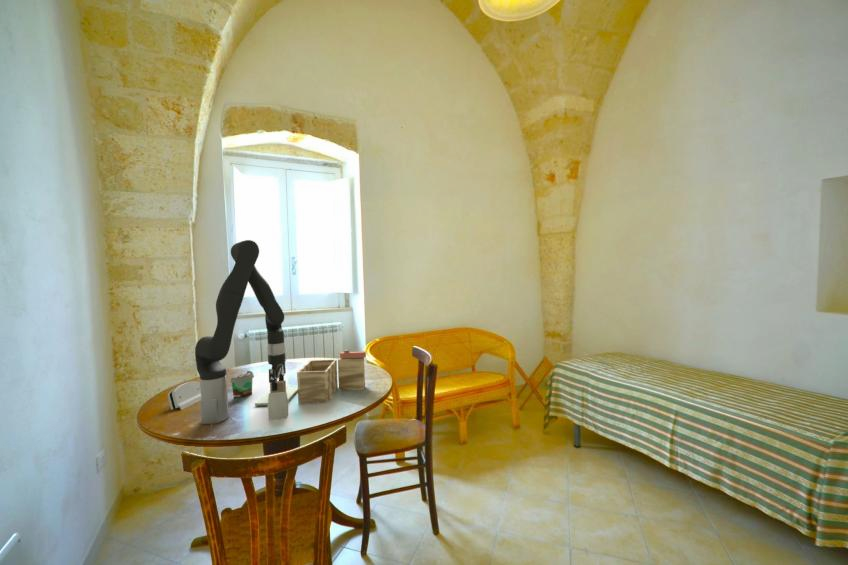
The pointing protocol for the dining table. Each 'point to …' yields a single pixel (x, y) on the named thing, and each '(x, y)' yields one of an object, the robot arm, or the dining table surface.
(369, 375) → the dining table surface
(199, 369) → the robot arm
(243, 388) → the food container
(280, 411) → the tea box
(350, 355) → the key bar
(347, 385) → the wooden box
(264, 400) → the lid
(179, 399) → the hinge
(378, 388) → the dining table surface
